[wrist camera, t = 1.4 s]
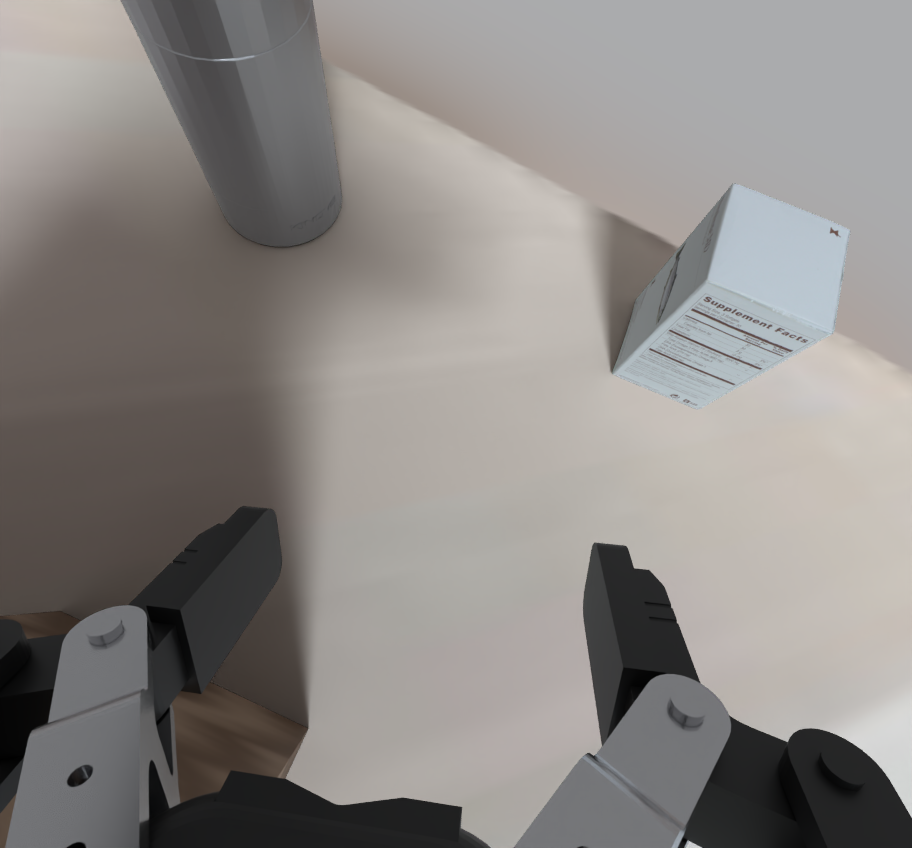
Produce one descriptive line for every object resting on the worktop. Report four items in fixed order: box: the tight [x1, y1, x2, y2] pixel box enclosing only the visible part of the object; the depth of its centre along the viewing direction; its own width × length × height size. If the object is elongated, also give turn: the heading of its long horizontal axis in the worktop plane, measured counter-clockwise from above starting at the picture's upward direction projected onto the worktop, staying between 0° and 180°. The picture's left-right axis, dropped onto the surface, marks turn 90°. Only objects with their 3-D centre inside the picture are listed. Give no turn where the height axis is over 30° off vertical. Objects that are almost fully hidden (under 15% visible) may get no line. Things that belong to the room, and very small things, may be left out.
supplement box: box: [612, 184, 850, 409], centre depth 32 cm, size 7×7×13 cm
